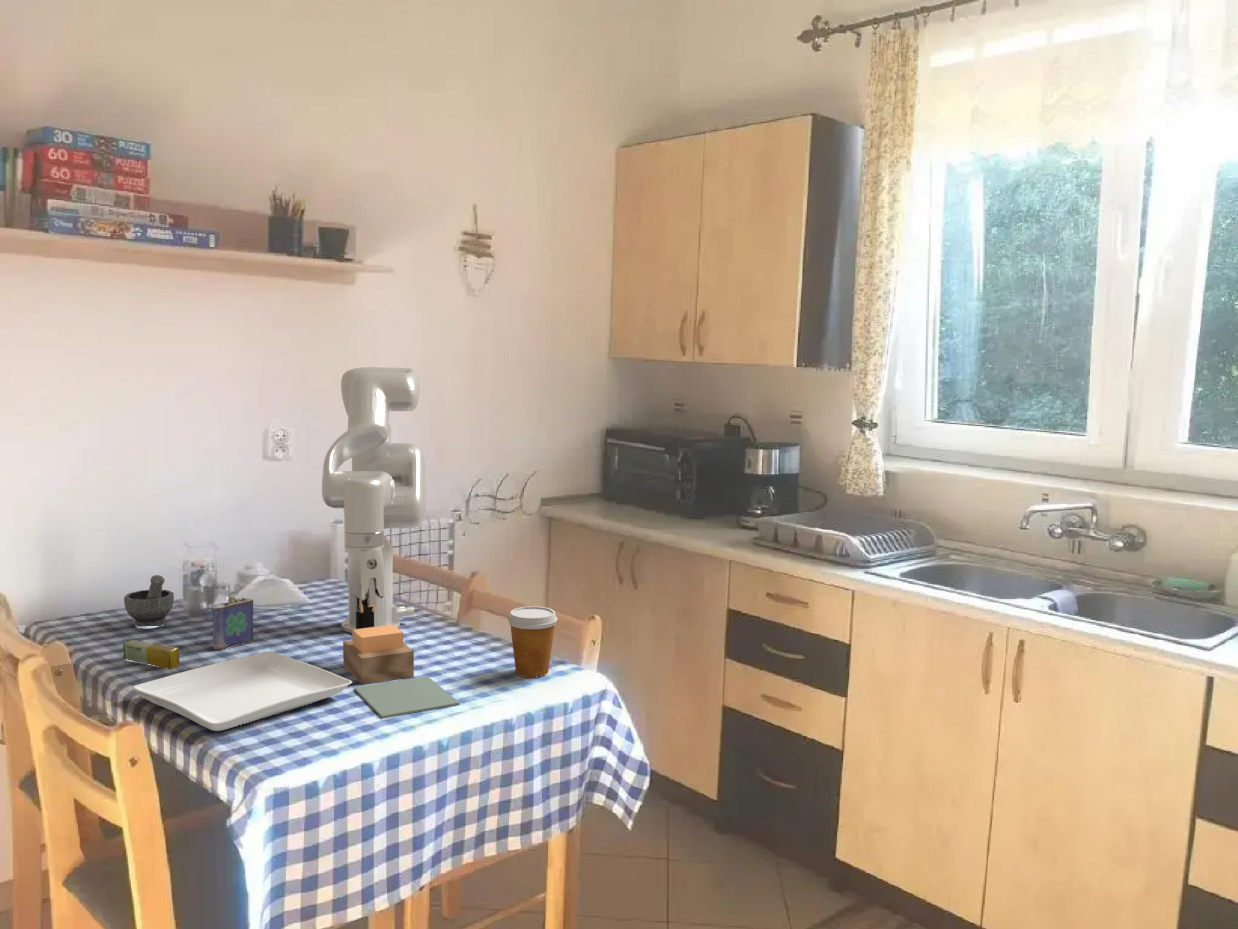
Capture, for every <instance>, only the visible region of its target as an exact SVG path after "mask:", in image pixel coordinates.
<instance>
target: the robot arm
mask: <svg viewBox="0 0 1238 929" xmlns="http://www.w3.org/2000/svg"><path fill="white" fill-rule="evenodd" d="M420 383H421V381H420V377H419V375H418V373H417V371H416V370H415V369H414V368H410V367H378V366H377V367H371V366H370V367H366V366H365V367H355V368H352V369H349V370H347V371H345V372H344V373H343V374H342V376H341V380H340V387H341V388H340V390H341V397H342V402H343V407H344V409H345V412H346V415H347V430H346V431H345V432H343V433H342V434H341V435H340V436H338V437H337V439H336V440H335V441H334V442H333V443H332V444H331V446H330V447H329V449H328V450H327V452H326V455H325V456H324V461H323V466H322V478H321V480H322V481H321V496H322V497H321V498H322V500H323V502H324V503H325V505H326V506H328V507H329V508H331V509H343V518H344V521H343V522H344V523H343V524H344V525H343V526H344V527H343V528H344V530H343V531H344V534H343V535H344V549H346V550H347V586H348V593H347V594H348V618H346V619H344V620H343V621H341V629H342V630H343V631H344V632H346V633H350V634H353V630H354V629H362V628H370V627H377V626H385V625H394V626H396V627H397V628H398V629H400V627H401V620H400V619H401V617H405V616H406V617H407V616H408V617H409V616H414V615H415V608H414V606H407V607H406V606H405V605H400V606H396V605H395V604H394V599H393V598H394V591H393V590H394V587H393V586H394V585H393V584H394V582H393V581H394V580H393V574H394V573H393V572H394V571H393V567H394V566H393V562H394V560H393V557H394V556H393V555H394V552H393V547H392V545H391V542H390V541H389V539H388V538H387V536H385V532H384V531H385V530H387V529H390V530H391V529H416V528H418V527H420V526H421V525H422V524H423V523H424V522H425V518H426V505H427V504H426V502H427V501H426V463H425V462H426V460H425V456H424V452H423V451H422V448H421V447H420V446H419V445H418V444H414V443H408V442H392V427H391V425H390V412H413V411H415V410H416V408H417V407H418V404H419V399H420V390H421V388H420V387H421V384H420ZM350 459H351V470H338V469H340V467H341V465H342V464H344V463H345V462H347V461H348V460H350Z"/></svg>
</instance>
